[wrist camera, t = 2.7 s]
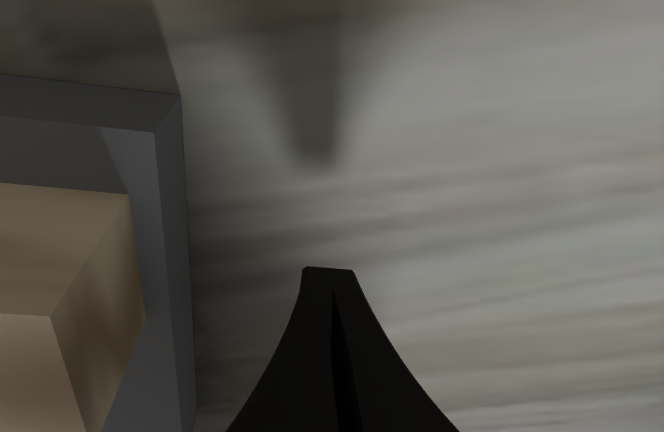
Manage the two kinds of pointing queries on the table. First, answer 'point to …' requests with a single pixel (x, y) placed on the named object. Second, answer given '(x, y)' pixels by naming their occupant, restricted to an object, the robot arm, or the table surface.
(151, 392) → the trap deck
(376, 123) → the table surface
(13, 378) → the maple block
